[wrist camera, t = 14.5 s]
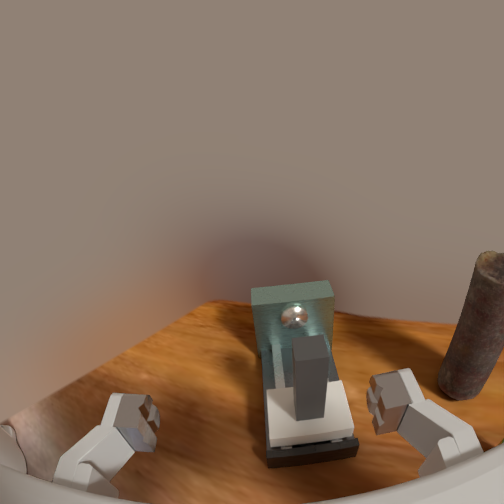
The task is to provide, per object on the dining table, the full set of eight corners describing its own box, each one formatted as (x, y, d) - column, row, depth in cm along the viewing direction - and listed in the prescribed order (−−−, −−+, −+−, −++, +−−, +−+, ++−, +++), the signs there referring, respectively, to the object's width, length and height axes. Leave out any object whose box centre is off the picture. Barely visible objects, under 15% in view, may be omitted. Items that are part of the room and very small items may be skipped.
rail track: (264, 468, 31) (255, 427, 26) (257, 340, 50) (251, 288, 46) (359, 455, 30) (375, 410, 26) (326, 332, 50) (328, 280, 45)
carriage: (270, 447, 31) (261, 382, 25) (267, 399, 37) (258, 327, 31) (351, 436, 30) (368, 367, 25) (340, 390, 37) (348, 316, 31)
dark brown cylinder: (471, 413, 31) (533, 288, 21) (427, 395, 36) (470, 267, 26) (485, 375, 35) (533, 255, 26) (444, 360, 40) (480, 238, 31)
